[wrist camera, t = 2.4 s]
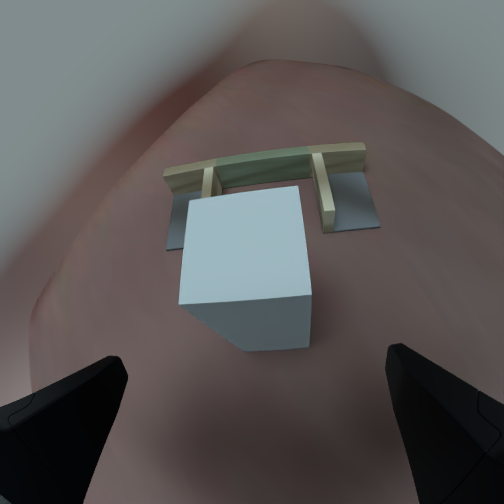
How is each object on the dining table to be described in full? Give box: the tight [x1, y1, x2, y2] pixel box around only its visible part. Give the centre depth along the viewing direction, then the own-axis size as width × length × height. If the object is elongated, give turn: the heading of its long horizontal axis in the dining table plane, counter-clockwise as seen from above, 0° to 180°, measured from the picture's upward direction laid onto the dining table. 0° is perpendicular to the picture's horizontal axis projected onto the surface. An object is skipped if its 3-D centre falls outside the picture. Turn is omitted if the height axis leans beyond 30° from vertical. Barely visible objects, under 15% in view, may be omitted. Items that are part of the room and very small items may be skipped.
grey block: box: [179, 186, 312, 352], centre depth 15 cm, size 4×4×11 cm
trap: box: [163, 142, 380, 251], centre depth 23 cm, size 7×18×3 cm, turn 92°
